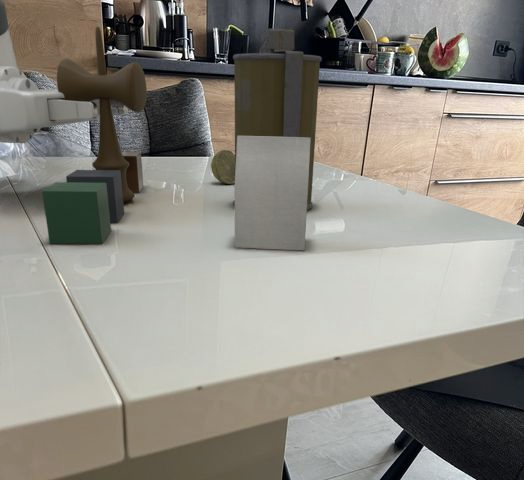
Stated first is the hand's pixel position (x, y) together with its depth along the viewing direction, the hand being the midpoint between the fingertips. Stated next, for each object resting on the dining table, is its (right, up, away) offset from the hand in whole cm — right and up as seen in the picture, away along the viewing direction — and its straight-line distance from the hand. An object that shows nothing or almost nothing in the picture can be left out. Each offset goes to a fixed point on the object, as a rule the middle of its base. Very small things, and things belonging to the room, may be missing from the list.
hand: (111, 108), depth 67 cm
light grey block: (+19, -19, -12) cm, 30 cm away
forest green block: (0, -18, -12) cm, 22 cm away
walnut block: (-2, -6, +13) cm, 15 cm away
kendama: (-1, -10, +5) cm, 12 cm away
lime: (+13, -3, +21) cm, 24 cm away
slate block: (0, -14, -4) cm, 15 cm away
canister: (+20, -11, +5) cm, 23 cm away
